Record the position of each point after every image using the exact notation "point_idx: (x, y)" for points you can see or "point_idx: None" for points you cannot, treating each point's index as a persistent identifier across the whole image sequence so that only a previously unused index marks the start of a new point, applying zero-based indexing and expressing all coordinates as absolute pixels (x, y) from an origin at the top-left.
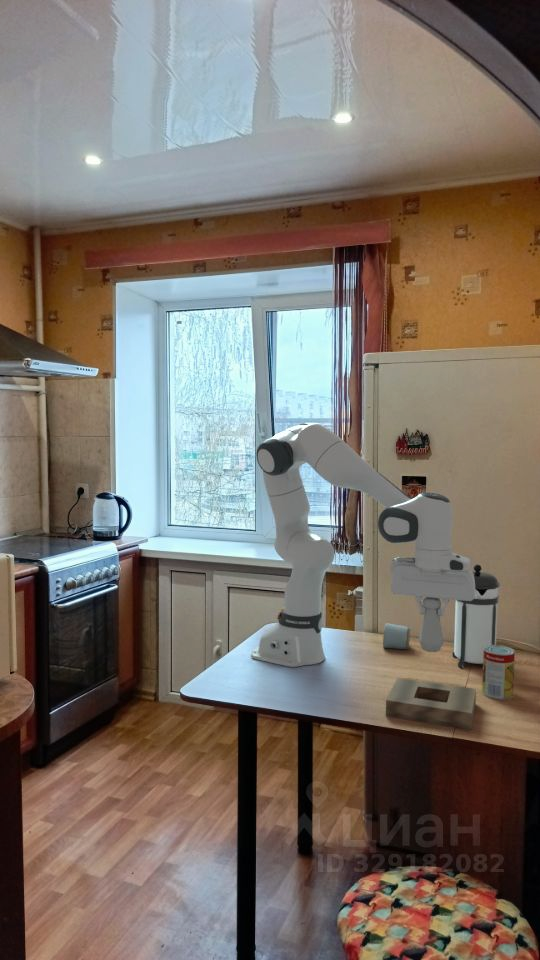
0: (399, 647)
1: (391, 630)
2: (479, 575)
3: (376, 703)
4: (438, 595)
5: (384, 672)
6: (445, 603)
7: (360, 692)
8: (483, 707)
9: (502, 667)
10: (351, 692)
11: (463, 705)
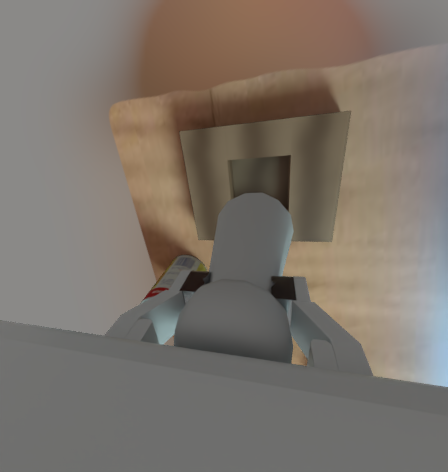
0: None
1: None
2: None
3: (363, 167)
4: (140, 362)
5: (353, 298)
6: (138, 315)
7: (399, 206)
8: (194, 222)
9: (160, 283)
10: (420, 199)
11: (199, 161)
